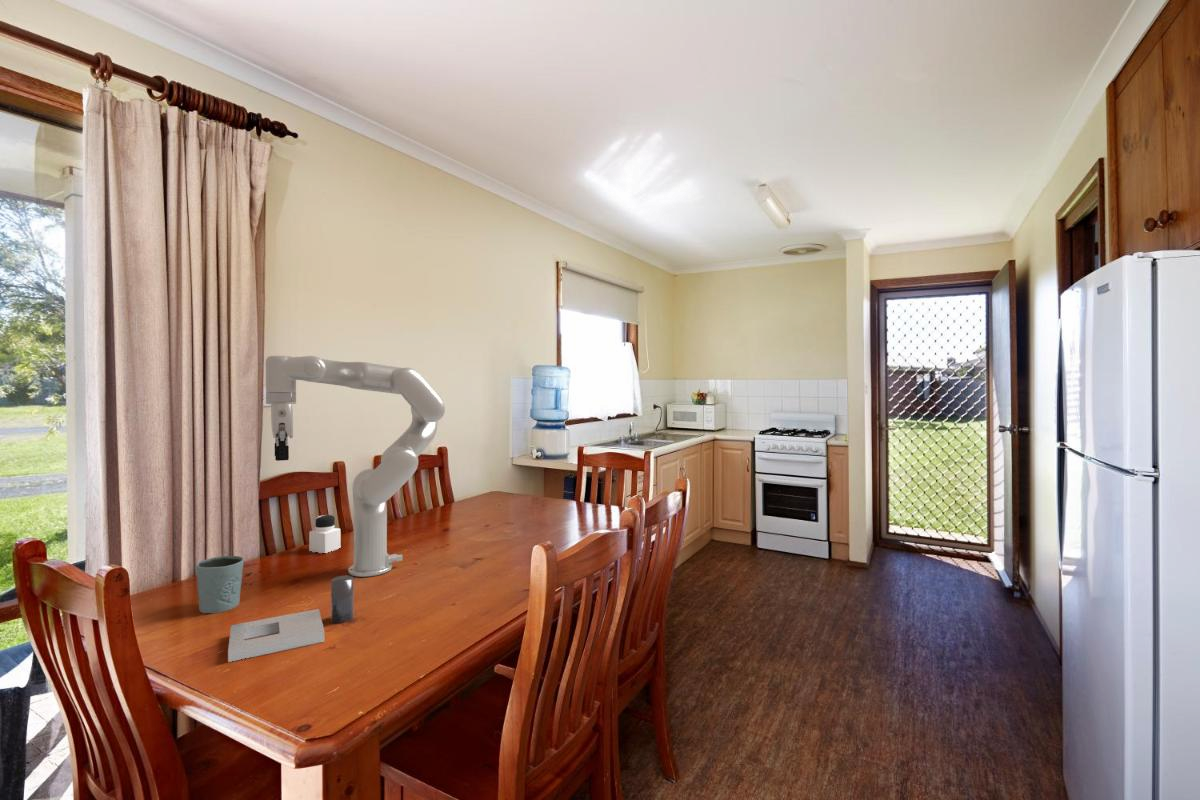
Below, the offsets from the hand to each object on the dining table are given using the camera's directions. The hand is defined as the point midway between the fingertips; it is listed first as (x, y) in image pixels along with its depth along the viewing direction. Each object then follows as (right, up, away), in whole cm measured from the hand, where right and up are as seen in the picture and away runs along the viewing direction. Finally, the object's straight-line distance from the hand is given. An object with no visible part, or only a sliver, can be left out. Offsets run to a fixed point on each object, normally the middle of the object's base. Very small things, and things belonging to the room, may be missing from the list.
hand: (281, 458), depth 157 cm
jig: (+18, -38, -32) cm, 53 cm away
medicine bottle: (-4, -36, +34) cm, 50 cm away
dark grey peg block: (+28, -38, -21) cm, 51 cm away
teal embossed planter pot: (-7, -37, -15) cm, 41 cm away
